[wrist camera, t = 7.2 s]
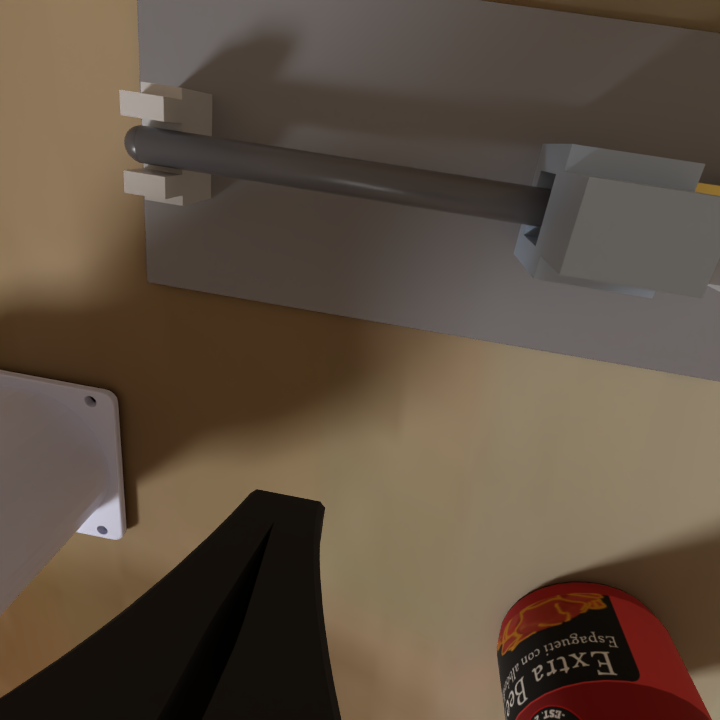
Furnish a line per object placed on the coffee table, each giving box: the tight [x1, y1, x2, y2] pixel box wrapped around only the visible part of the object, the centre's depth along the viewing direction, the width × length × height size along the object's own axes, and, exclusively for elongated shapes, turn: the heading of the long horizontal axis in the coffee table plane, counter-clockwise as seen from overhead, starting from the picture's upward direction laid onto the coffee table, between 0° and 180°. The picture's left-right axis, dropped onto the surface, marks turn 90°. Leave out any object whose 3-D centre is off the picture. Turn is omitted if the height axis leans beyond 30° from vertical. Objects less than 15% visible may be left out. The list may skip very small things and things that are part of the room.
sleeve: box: [514, 144, 720, 299], centre depth 13 cm, size 3×3×5 cm
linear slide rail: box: [119, 0, 720, 381], centre depth 15 cm, size 21×10×4 cm, turn 82°
